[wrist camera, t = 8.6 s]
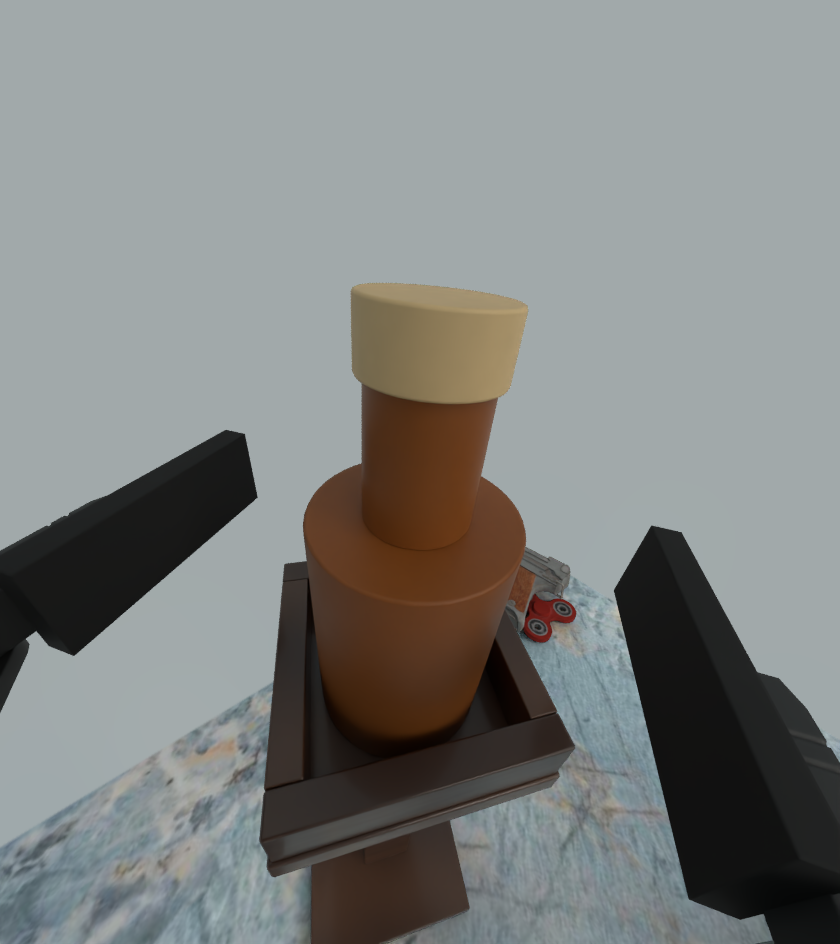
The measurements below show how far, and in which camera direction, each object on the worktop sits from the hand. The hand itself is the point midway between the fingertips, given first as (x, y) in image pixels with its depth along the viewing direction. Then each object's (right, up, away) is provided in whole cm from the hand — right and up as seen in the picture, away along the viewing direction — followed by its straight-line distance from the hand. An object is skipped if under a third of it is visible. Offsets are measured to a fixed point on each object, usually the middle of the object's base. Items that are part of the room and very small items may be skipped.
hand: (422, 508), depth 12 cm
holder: (-3, -26, +15) cm, 30 cm away
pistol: (+5, -13, +33) cm, 36 cm away
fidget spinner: (+15, -17, +32) cm, 40 cm away
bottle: (-1, -7, +2) cm, 7 cm away
